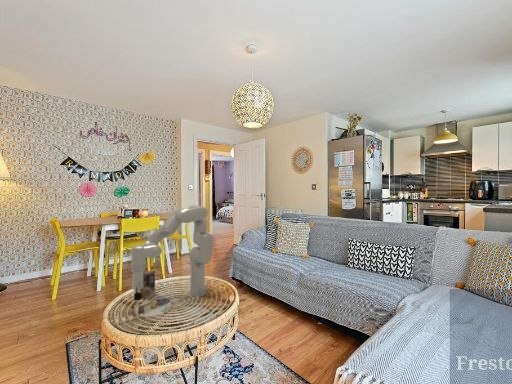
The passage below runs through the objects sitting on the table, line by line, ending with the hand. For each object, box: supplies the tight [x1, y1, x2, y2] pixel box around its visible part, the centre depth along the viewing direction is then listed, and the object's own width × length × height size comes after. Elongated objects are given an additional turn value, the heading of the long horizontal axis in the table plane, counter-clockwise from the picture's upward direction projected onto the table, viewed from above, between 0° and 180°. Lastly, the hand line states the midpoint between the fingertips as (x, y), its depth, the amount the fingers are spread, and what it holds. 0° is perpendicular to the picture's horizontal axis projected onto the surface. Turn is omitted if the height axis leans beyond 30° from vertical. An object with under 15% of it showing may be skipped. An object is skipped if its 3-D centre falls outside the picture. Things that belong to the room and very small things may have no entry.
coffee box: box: [140, 270, 156, 300], centre depth 160 cm, size 9×6×16 cm
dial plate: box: [134, 297, 173, 318], centre depth 144 cm, size 20×20×3 cm
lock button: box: [157, 292, 166, 302], centre depth 150 cm, size 4×4×4 cm
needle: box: [137, 298, 158, 314], centre depth 141 cm, size 12×4×4 cm, turn 149°
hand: (137, 299), depth 140 cm, fingers closed
